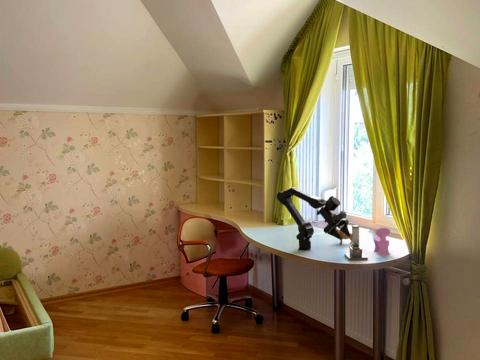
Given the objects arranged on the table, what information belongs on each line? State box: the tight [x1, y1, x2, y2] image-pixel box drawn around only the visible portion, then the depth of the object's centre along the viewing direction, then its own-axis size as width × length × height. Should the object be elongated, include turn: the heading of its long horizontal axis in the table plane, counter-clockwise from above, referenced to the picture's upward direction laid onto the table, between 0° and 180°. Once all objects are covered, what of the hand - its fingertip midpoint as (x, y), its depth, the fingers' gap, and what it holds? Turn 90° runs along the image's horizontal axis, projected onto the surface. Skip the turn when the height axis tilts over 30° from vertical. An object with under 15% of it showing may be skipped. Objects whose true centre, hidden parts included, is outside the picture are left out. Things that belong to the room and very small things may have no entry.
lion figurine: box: [337, 228, 352, 245], centre depth 284 cm, size 15×5×9 cm, turn 71°
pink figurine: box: [373, 227, 391, 256], centre depth 260 cm, size 8×9×15 cm
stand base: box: [343, 246, 369, 262], centre depth 252 cm, size 10×10×6 cm
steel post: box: [351, 224, 360, 249], centre depth 251 cm, size 4×4×12 cm
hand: (345, 237), depth 255 cm, fingers open, 9 cm apart
